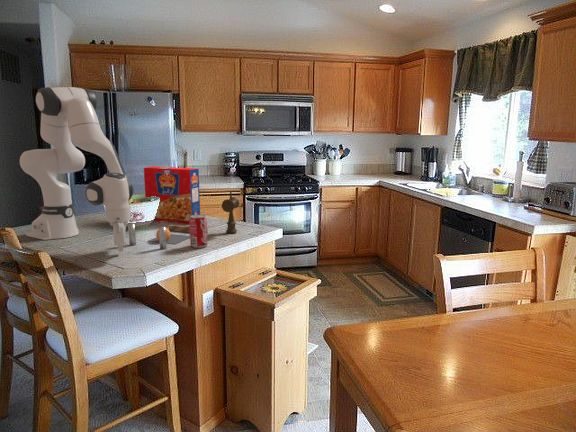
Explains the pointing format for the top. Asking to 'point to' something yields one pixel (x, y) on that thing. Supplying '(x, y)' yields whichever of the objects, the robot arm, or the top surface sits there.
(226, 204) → the kendama
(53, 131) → the robot arm
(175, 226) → the stopper wall
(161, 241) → the right post
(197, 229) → the soda can
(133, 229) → the left post
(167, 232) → the ball
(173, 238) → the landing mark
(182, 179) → the pasta box
